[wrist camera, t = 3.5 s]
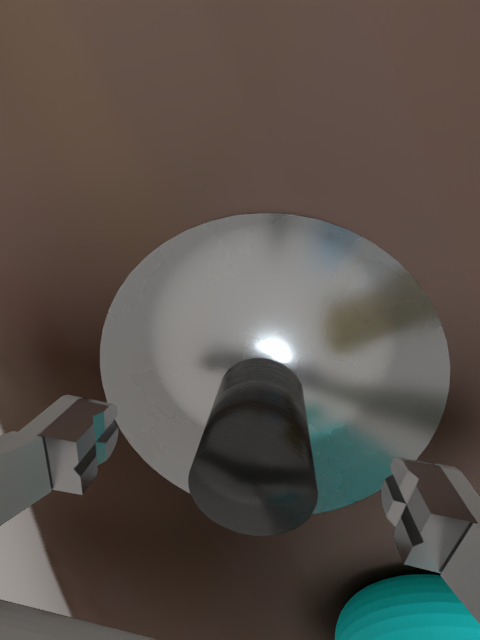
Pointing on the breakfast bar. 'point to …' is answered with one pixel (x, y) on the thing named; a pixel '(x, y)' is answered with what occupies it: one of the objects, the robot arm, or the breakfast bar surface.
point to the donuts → (407, 612)
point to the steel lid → (273, 367)
